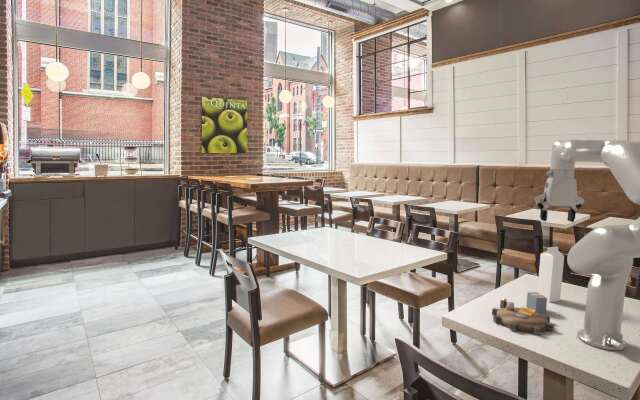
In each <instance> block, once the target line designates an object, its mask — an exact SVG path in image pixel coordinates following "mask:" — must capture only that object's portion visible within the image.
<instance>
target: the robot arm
mask: <svg viewBox="0 0 640 400" xmlns="http://www.w3.org/2000/svg"><path fill="white" fill-rule="evenodd" d="M576 162H577V163H583V162H584V163H587V162H588V163H603V165H604V166H606V167H608V168H609V170H610V172H611V174H612V175H613V176H614V178H615V180H616V181H617V183H618V185H619V186H620V187H621V189H622V191H623V192H624V194H625V196H627V198H628V200H630V201H631V202H633V203H634V204H636V205H639V206H640V141H639V140H637V141H636V140H624V139H623V140H622V139H621V140H620V139H614V140H605V139H603V140H602V139H569V140H555V141H554V142H553V143H552V148H551V157H550V169H549V171H546V173H545V175H546V176H548V178H547V179H546V182H545V185H544V189H543V193H541V194H540V195H537V196H535V197H534V198H533V199H534V201H535V205H536V206H537V207H538V209H539V210H540V213H539V218H540V221H543V222H547V221H548V210H547V209H548V208H549V207H550V206H552V207H567V208H569V210H568V211H567V219H566V220H567V221H568V222H571V223H575V219H576V213H577V212H578V210H579V209H580V208H581V207H582V206H583V204H584V203H585V198H583V197H581V196H579V195H578V185H577V179H575V166H576V165H575V164H576ZM541 200H542V202H543V203H542V202H541ZM636 258H638V259H639V258H640V216H639V217H638V218H637V219H635V220H634V221H632V222H630V223H628V224H616V225H615V224H613V225H611V224H610V225H607V224H606V225H600V226H597V227H595V228H594V229H592V230H591V231H590V232H587V234H585V235H584V236H583V237H582V238H580V240H578V241H577V242H575V244H574V245H573V246H572V247H571V248H570V250H569V251H568V253H567V259H566V260H567V265H568V267H569V268H570V269H571V271H572V272H574V273H576V274H578V275H583V276H591V277H590V278H589V281H588V283H587V290H586V299H585V300H586V301H585V310H584V318H583V319H584V321H583V328H582V329H579V330H578V331H577V333H576V336H577V338H578V339H579V340H580V341H581V342H583V343H584V344H585V343H586V344H588V345H589V346H591V347H595V348H598V349H599V348H600V349H603V350H609V351H621V350H625V348H627V347H628V346H629V343H628V342H627V341H625V340H623V338H624V334H623V333H622V323H623V314H624V304H625V298H626V292H627V291H626V289H627V284H628V280H629V277H630V274H631V271H632V268H633V264H634V259H636Z"/></svg>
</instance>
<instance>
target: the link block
mask: <svg viewBox="0 0 640 400" xmlns="http://www.w3.org/2000/svg"><path fill="white" fill-rule="evenodd" d="M526 294H527V296H526V306H525V308H530V309H533V310H536V311H535V312H537V313H539V314H546V313H547V303H548V302H547V298H546V297H545V296H543V295H541V294H540V293H538V292H537V291H535V292H534V291H532V292H531V291H528V292H527V293H526Z"/></svg>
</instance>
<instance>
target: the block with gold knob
mask: <svg viewBox="0 0 640 400" xmlns="http://www.w3.org/2000/svg"><path fill="white" fill-rule="evenodd" d="M507 302H508V301H507V298H502V299H500V302H499V303H500V304H499V309H501V308H505V305H507Z"/></svg>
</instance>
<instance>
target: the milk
mask: <svg viewBox="0 0 640 400" xmlns="http://www.w3.org/2000/svg"><path fill="white" fill-rule="evenodd" d="M539 256H540V258H539V268H538V269H539V271H538V282H537V291H536V292H538V293H540V294H541V295H543V296H545V297H546V298H547V303H553V302H554V303H555V302H561V296H562V294H561V293H562V286H563V285H562V283H563V273H564V265H565V264H564V263H565V262H564V261H565V255H564V254H563V253H562V252H560V250H559V246H551V247H547V250H546V251H544V252H541V253H540V255H539Z"/></svg>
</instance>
